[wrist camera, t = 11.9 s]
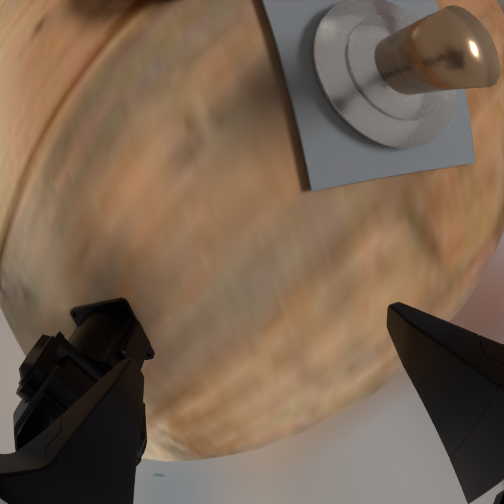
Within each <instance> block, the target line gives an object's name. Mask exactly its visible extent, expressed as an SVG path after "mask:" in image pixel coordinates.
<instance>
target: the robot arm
mask: <svg viewBox="0 0 504 504" xmlns="http://www.w3.org/2000/svg"><path fill="white" fill-rule="evenodd" d="M121 303H122V304H124V305H125V306H123V305H122V304H121ZM75 313H76V314H77V315H76V314H75ZM71 316H72V318H73V320H74V321H75V323H76V325H77V328H76V330H75V331H74V333H73V334H72V336H71V337H70V338H69V340H68V341H67V340H66V339H65V338H64V335H63V334H62V333H61V332H60V331H59V332H58V333H57V334H56V335H55V336H53V335H52V336H47V335H44V334H43V335H42V336H41V337H40V339H39V340H38V341H37V343H36V344H35V345H34V347H33V348H32V349H31V351H30V352H29V354H28V355H27V357H26V358H25V360H24V361H23V363H22V365H21V366H20V368H19V372H20V377H21V379H20V381H19V387H18V389H17V392H16V394H17V395H18V396H19V397H20V398H21V399H22V400H21V402H20V403H19V405H18V406H17V408H16V410H15V412H14V415H13V420H14V439H15V450H16V452H14V453H11V454H0V504H133V497H134V485H135V473H136V466H137V465H138V464H139V463H140V462H141V457H142V455H143V453H144V451H145V448H146V444H147V432H146V415H145V403H143V394H144V376H143V374H142V372H141V368H142V365H143V362H144V360H149V359H153V358H154V355H155V353H154V351H153V349H152V347H151V345H150V341H149V340H148V338H147V336H146V334H145V332H144V330H143V328H142V326H141V324H140V322H139V321H138V320H137V319H136V317H135V315H134V313H133V311H132V309H131V307H130V304H129V302H128V301H127V300H126V299H124V298H121V299H116V300H111V301H106V302H101V303H97V304H92V305H87V306H82V307H77V308H73V309H72V311H71ZM387 329H388V332H389V334H390V336H391V339H392V341H393V343H394V346H395V348H396V350H397V353H398V355H399V358H400V360H401V362H402V364H403V366H404V368H405V370H406V372H407V374H408V376H409V377H410V379H411V381H412V383H413V385H414V387H415V389H416V390H417V392H418V394H419V396H420V398H421V400H422V402H423V404H424V406H425V408H426V410H427V412H428V414H429V416H430V418H431V420H432V422H433V424H434V426H435V428H436V430H437V432H438V434H439V436H440V439H441V440H442V443H443V445H444V447H445V449H446V451H447V454H448V456H449V457H450V461H451V463H452V466H453V468H454V470H455V473H456V475H457V478H458V480H459V482H460V485H461V487H462V490H463V493H464V495H465V498H466V500H467V503H468V504H469V503H471V502H472V501H474V500H475V499H477V498H479V497H480V496H482V495H483V494H484V493H486V492H487V491H489V490H490V489H492V488H493V487H494V486H496V485H497V484H498V483H500V482H501V484H502V486H503V488H504V344H500V343H498V342H495V341H493V340H490V339H488V338H485V337H483V336H481V335H479V336H478V334H476V333H473V332H471V331H469V330H466V329H464V328H461V327H459V326H457V325H454V324H452V323H449V322H447V321H445V320H442V319H440V318H437V317H435V316H433V315H430V314H428V313H425V312H423V311H420V310H418V309H416V308H413V307H411V306H408V305H406V304H403V303H401V302H396V303H393V304H390V305H389V306H388V309H387ZM148 353H149V354H148ZM150 354H151V355H150ZM493 504H504V490H503V491H501V492H500V493H499V494H497V495H496V498H495V501H494V503H493Z"/></svg>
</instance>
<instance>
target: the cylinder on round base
mask: <svg viewBox="0 0 504 504" xmlns="http://www.w3.org/2000/svg"><path fill="white" fill-rule="evenodd" d="M311 60H312V66H313V71H314V74H315V78H316V81H317V83H318V85H319V88H320V90H321V92H322V94H323V96H324V97H325V99H326V101H327V102H328V104H329V105H330V107H331V108H332V109H333V111H334V112H335V113H336V114H337V115H338V116H339V118H340V119H341V120H342V121H343V122H344V123H346V124H347V125H348V126H349V127H350V128H351V129H353V130H354V131H355V132H357V133H358V134H360V135H361V136H363V137H365V138H366V139H368V140H370V141H373V142H375V143H378V144H381V145H384V146H389V147H396V148H416V147H420V146H423V145H426V144H428V143H430V142H432V141H434V140H435V139H436V138H437V137H439V136H440V135H441V134H442V132H443V131H444V130H445V129H446V127H447V126H448V124H449V122H450V120H451V118H452V115H453V111H454V107H455V101H456V89H467V88H482V87H491V86H493V85H495V84H496V82H497V80H498V78H499V73H500V63H499V58H498V54H497V50H496V48H495V45H494V43H493V41H492V39H491V37H490V35H489V33H488V32H487V30H486V29H485V27H484V26H483V25H482V24H481V22H480V21H479V20H478V19H477V18H476V17H475V16H474V15H472V14H471V13H470V12H469V11H467V10H465V9H463V8H461V7H458V6H448V7H446V8H444V9H441V10H439V11H437V12H435V13H432V14H430V15H428V16H426V17H424V18H422V19H419V18H418V17H416V16H415V15H414V14H412V13H411V12H409V11H408V10H406V9H404V8H403V7H401V6H399V5H397V4H394V3H392V2H389V1H386V0H346V1H343V2H341V3H339V4H337V5H336V6H334V7H333V8H332V9H331V10H330V11H328V12H327V14H326V15H325V16H324V17H323V19H322V20H321V21H320V23H319V24H318V26H317V28H316V30H315V33H314V36H313V40H312V47H311Z"/></svg>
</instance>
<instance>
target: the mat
mask: <svg viewBox="0 0 504 504" xmlns="http://www.w3.org/2000/svg"><path fill="white" fill-rule="evenodd" d="M343 1H346V0H261V2H262V5H263V8H264V11H265V14H266V17H267V20H268V23H269V26H270V29H271V32H272V36H273V39H274V42H275V45H276V49H277V52H278V56H279V59H280V63H281V66H282V70H283V74H284V77H285V81H286V85H287V89H288V93H289V97H290V101H291V105H292V109H293V113H294V117H295V121H296V126H297V130H298V134H299V139H300V143H301V148H302V153H303V158H304V162H305V167H306V172H307V178H308V183H309V188H310V190H311V191H315V190H320V189H325V188H330V187H335V186H340V185H345V184H350V183H355V182H360V181H366V180H371V179H377V178H382V177H388V176H394V175H400V174H406V173H412V172H418V171H425V170H431V169H438V168H445V167H452V166H459V165H467V164H475V159H474V147H473V137H472V129H471V122H470V115H469V109H468V104H467V98H466V93H465V89H456V101H455V107H454V111H453V115H452V118H451V120H450V122H449V124H448V126H447V127H446V129H445V130H444V131H443V132H442V134H441V135H440V136H439V137H437V138H436V139H435V140H434V141H432V142H430V143H428V144H426V145H423V146H420V147H416V148H396V147H389V146H384V145H381V144H378V143H375V142H373V141H370V140H368V139H366V138H365V137H363V136H361V135H360V134H358V133H357V132H355V131H354V130H353V129H351V128H350V127H349V126H348V125H347V124H346V123H344V122H343V121H342V120H341V119H340V118H339V116H338V115H337V114H336V113H335V112H334V111H333V109H332V108H331V107H330V105H329V104H328V102H327V101H326V99H325V97H324V96H323V94H322V92H321V90H320V88H319V85H318V83H317V81H316V78H315V74H314V71H313V66H312V60H311V47H312V40H313V36H314V33H315V30H316V28H317V26H318V24H319V23H320V21H321V20H322V19H323V17H324V16H325V15H326V14H327V12H328V11H330V10H331V9H332V8H333V7H334V6H336V5H337V4H339V3H341V2H343ZM386 1H389V2H392V3H394V4H397V5H399V6H401V7H403V8H404V9H406V10H408V11H409V12H411V13H412V14H414V15H415V16H416V17H418V18H419V19H422V18H424V17H426V16H428V15H430V14H432V13H435V12H437V11H439V10H440V9H439V7H438V4H437V2H436V0H386Z"/></svg>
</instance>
